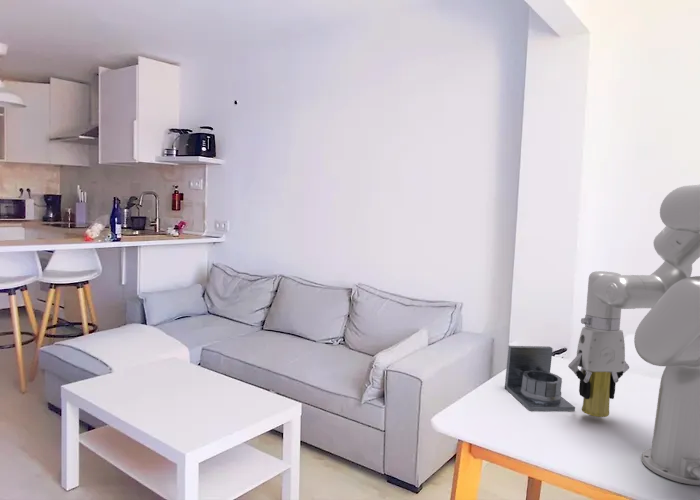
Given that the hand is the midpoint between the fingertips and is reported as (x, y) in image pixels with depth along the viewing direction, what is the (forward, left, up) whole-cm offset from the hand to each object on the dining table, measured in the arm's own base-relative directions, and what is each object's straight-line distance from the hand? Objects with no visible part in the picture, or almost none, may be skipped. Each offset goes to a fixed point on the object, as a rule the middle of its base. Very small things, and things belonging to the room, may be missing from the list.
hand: (596, 396), depth 129 cm
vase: (0, 0, -4) cm, 4 cm away
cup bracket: (+11, +8, -6) cm, 15 cm away
